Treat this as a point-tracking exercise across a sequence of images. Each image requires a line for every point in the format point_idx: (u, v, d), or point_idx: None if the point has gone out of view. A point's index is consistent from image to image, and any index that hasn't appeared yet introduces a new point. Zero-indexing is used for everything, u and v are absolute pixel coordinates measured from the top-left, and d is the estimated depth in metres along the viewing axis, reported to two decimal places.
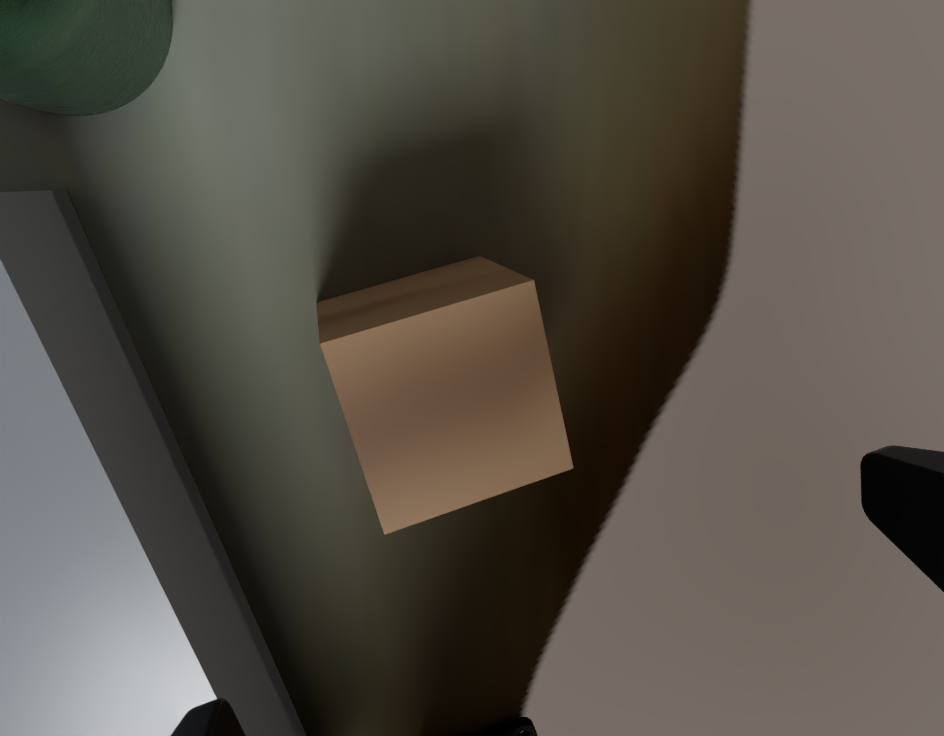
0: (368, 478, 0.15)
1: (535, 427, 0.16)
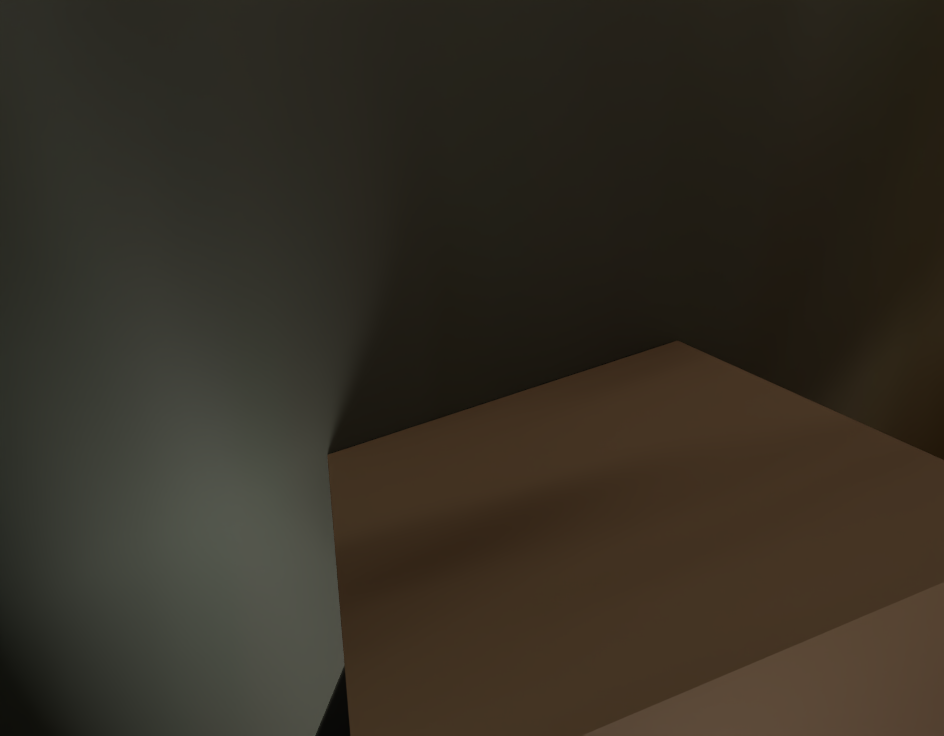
0: None
1: None
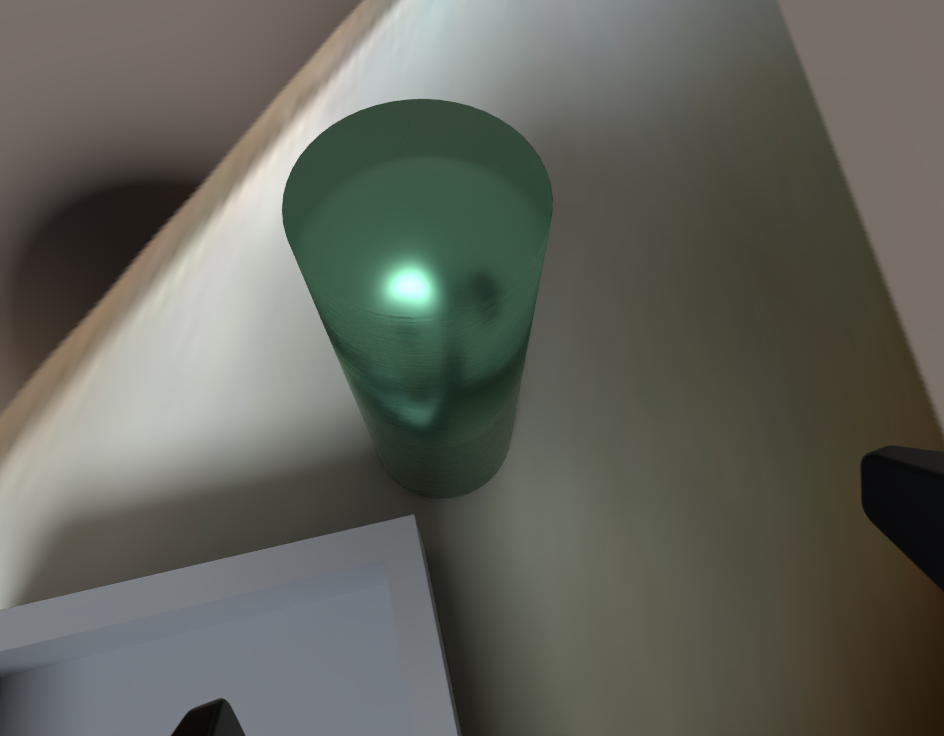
0: None
1: None
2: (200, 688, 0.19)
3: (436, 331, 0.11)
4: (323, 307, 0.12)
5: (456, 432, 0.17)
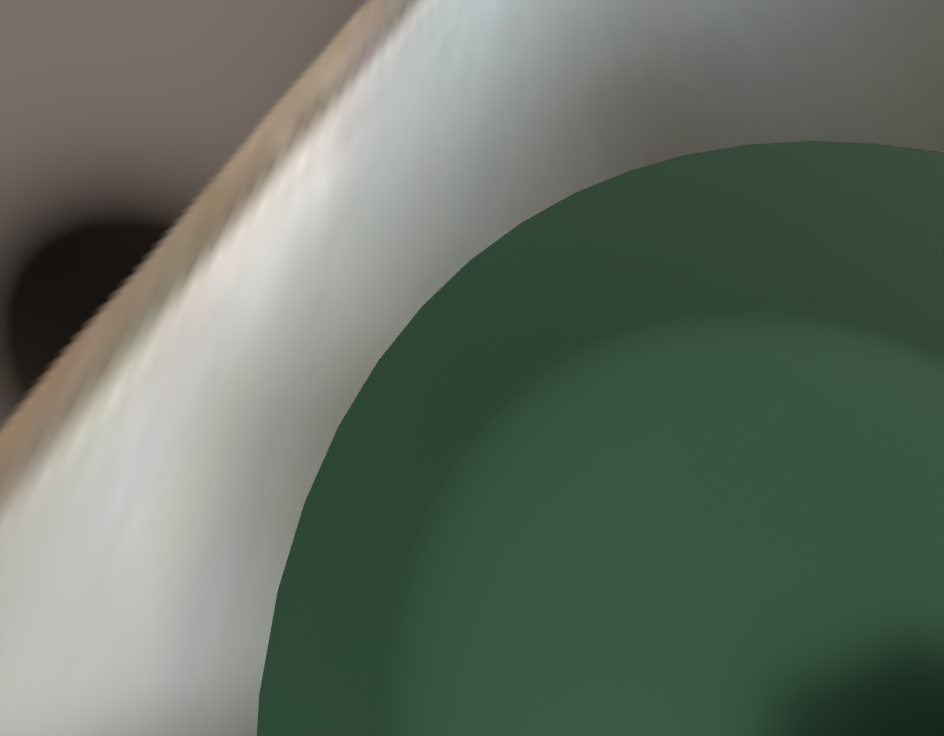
0: None
1: None
2: None
3: None
4: None
5: None
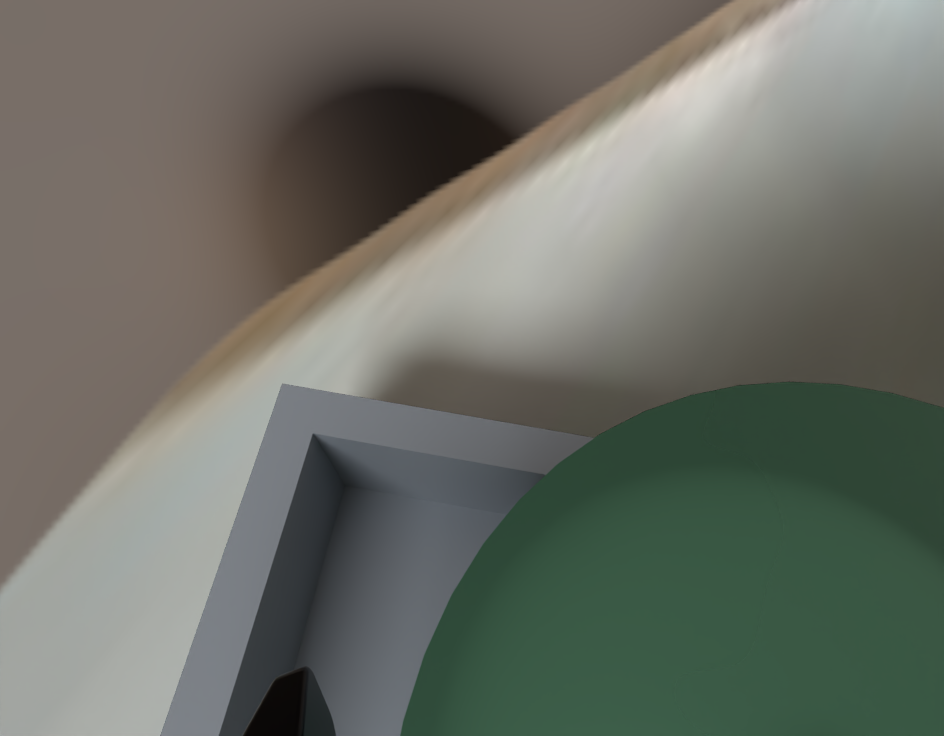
0: None
1: None
2: None
3: None
4: None
5: None
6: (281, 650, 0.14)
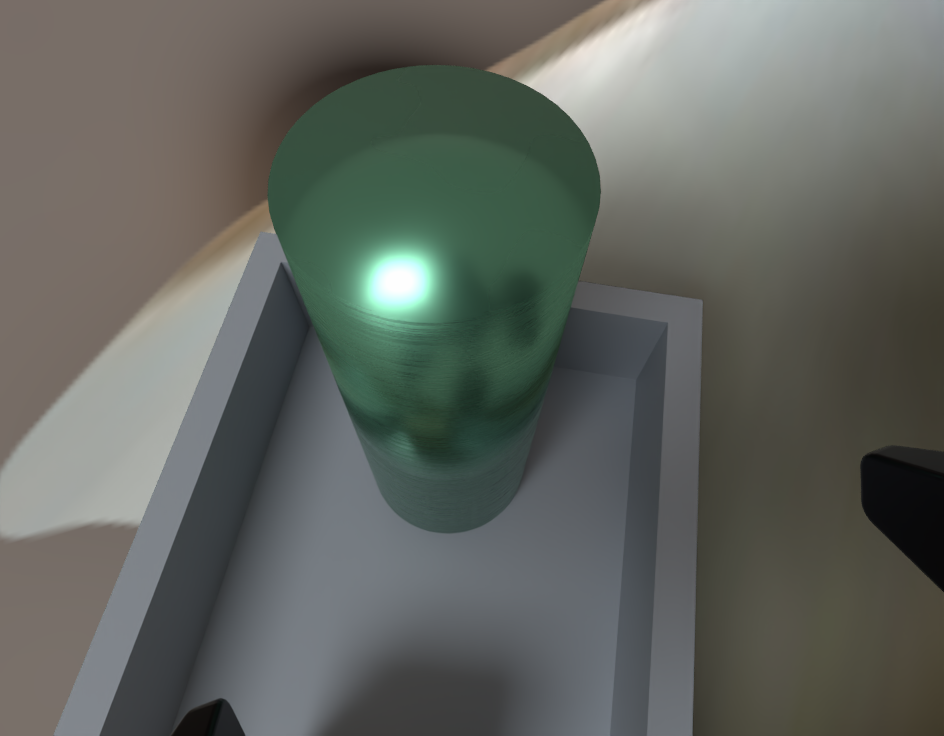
0: None
1: None
2: None
3: (465, 340, 0.09)
4: (321, 315, 0.10)
5: (475, 461, 0.14)
6: (260, 414, 0.20)
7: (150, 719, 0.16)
